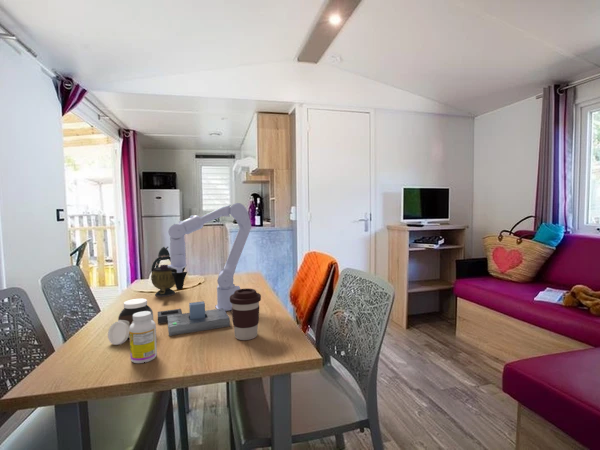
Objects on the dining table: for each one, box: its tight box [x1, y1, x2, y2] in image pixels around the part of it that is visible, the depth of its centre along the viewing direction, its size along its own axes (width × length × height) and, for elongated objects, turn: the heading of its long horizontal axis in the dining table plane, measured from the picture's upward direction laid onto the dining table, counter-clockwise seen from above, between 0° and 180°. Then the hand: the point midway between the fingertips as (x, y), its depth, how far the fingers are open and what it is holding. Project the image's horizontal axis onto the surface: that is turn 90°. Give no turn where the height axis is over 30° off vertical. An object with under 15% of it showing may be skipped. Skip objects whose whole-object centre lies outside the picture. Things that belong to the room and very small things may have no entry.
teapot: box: [150, 246, 176, 298], centre depth 153 cm, size 12×25×23 cm, turn 18°
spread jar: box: [107, 297, 155, 346], centre depth 104 cm, size 12×11×12 cm
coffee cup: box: [230, 288, 262, 341], centre depth 105 cm, size 10×10×15 cm
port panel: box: [167, 308, 231, 337], centre depth 116 cm, size 20×12×3 cm, turn 114°
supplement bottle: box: [129, 311, 158, 364], centre depth 90 cm, size 7×7×13 cm
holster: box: [157, 308, 183, 324], centre depth 122 cm, size 8×6×2 cm
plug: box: [188, 300, 206, 320], centre depth 115 cm, size 5×3×8 cm, turn 114°
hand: (179, 287), depth 130 cm, fingers open, 7 cm apart
